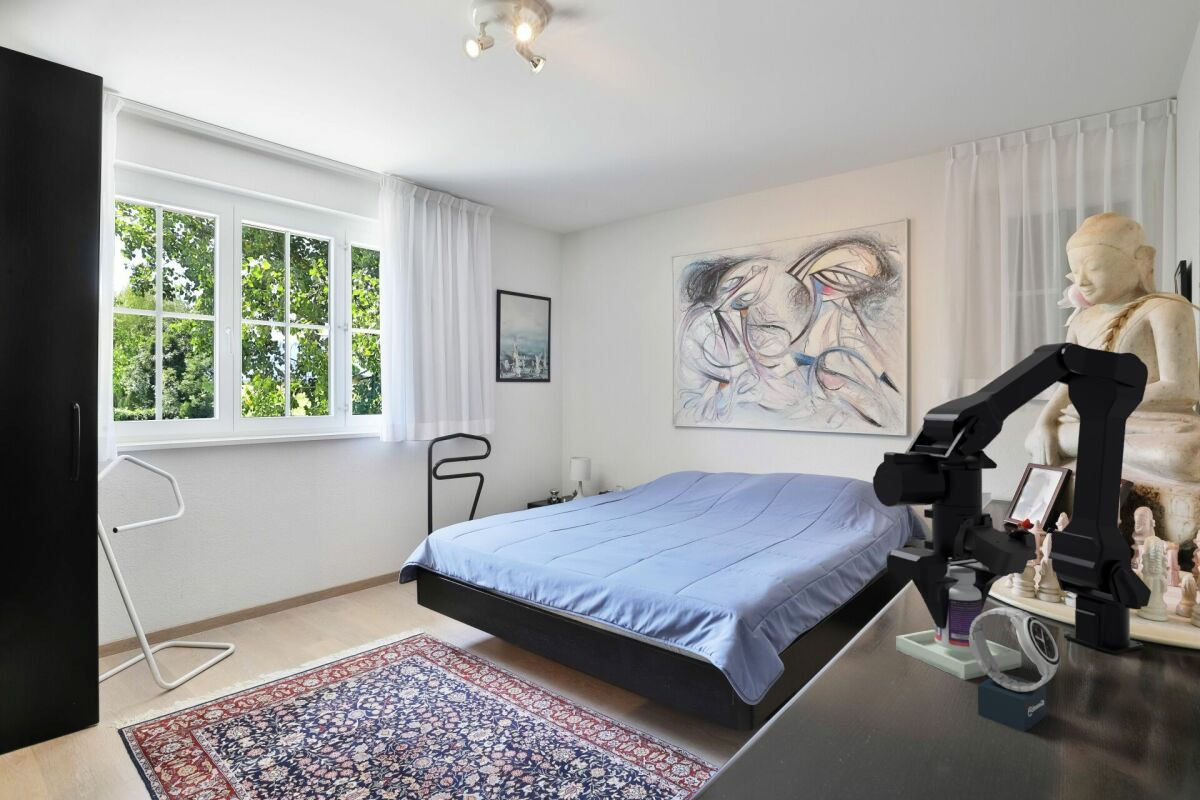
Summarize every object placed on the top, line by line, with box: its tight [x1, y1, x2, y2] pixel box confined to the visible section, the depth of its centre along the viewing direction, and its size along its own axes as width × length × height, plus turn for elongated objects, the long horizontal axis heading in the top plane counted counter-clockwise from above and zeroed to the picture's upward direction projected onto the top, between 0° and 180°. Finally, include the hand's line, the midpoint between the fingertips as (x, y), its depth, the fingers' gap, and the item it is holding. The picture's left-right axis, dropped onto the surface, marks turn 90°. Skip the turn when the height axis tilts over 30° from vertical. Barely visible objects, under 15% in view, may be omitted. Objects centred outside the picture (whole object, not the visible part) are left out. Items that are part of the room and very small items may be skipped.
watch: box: [969, 606, 1061, 732], centre depth 67 cm, size 6×8×11 cm
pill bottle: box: [933, 566, 983, 652], centre depth 82 cm, size 5×5×10 cm
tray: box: [895, 629, 1022, 681], centre depth 82 cm, size 10×10×2 cm
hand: (957, 624), depth 82 cm, fingers closed on pill bottle, 5 cm apart
